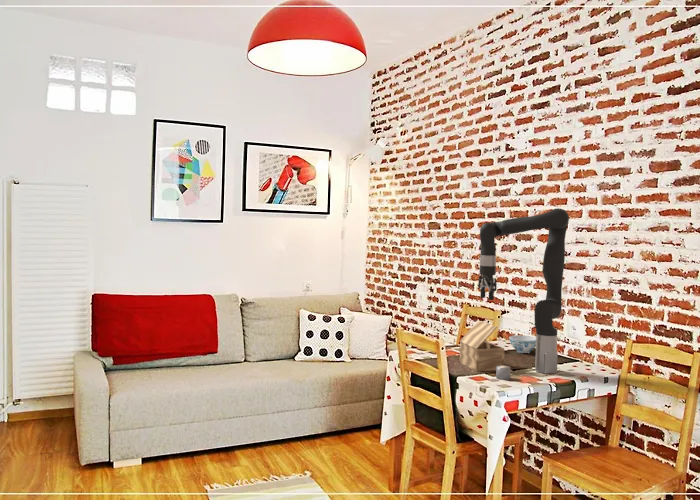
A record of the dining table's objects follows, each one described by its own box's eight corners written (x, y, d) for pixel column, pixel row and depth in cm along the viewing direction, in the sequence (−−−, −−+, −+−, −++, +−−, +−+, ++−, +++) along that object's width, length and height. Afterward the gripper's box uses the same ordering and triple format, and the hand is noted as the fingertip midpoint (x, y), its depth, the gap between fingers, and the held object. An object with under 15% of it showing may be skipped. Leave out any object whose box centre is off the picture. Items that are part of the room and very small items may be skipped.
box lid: (497, 327, 279) (496, 326, 279) (476, 349, 277) (476, 348, 277) (479, 321, 297) (478, 320, 297) (460, 341, 295) (459, 341, 295)
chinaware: (521, 356, 312) (521, 341, 311) (502, 350, 325) (503, 336, 325) (544, 354, 318) (544, 339, 317) (525, 348, 331) (525, 334, 331)
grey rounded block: (512, 379, 264) (513, 368, 263) (500, 380, 262) (500, 368, 262) (505, 376, 269) (506, 365, 269) (493, 376, 268) (494, 365, 268)
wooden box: (503, 369, 281) (504, 348, 281) (476, 371, 278) (476, 349, 277) (485, 361, 299) (486, 341, 298) (459, 362, 295) (460, 342, 295)
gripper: (502, 265, 281) (501, 300, 282) (488, 263, 295) (487, 297, 295) (487, 265, 279) (486, 300, 280) (473, 263, 293) (473, 297, 294)
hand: (486, 298), depth 288 cm, fingers open, 8 cm apart
